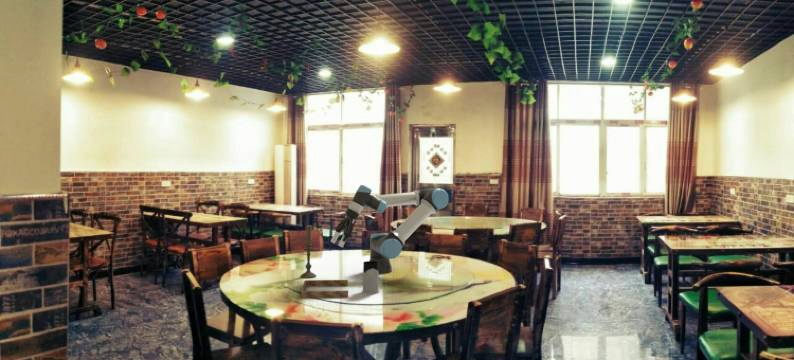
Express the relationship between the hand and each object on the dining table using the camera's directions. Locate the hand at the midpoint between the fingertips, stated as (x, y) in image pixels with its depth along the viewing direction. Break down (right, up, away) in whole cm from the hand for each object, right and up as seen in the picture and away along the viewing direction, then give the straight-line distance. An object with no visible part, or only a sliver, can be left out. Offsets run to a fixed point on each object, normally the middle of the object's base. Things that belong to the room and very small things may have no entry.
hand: (336, 244), depth 272 cm
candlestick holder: (-17, -20, +7) cm, 27 cm away
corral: (-2, -20, -26) cm, 33 cm away
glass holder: (+20, -21, -24) cm, 37 cm away
